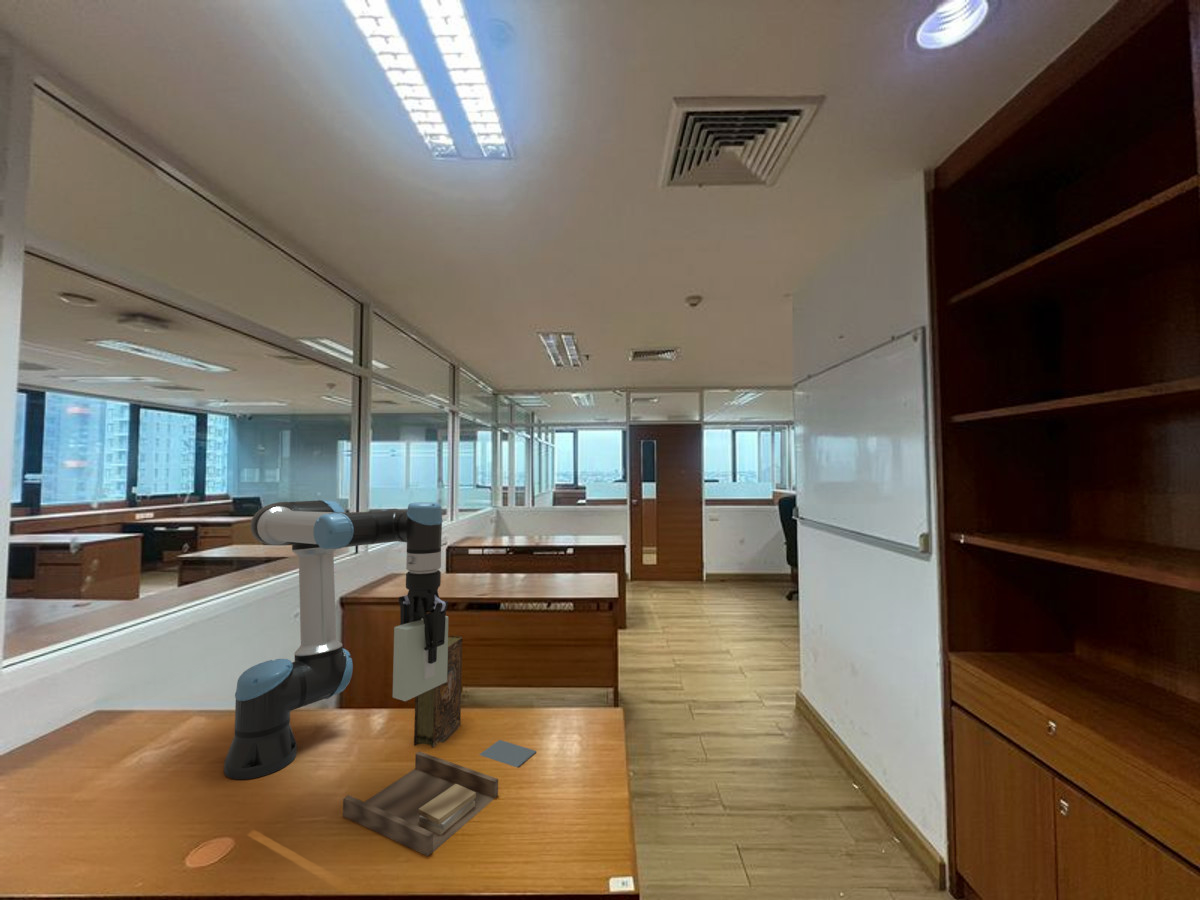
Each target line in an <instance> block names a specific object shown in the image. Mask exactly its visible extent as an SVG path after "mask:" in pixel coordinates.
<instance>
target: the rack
mask: <svg viewBox="0 0 1200 900" xmlns="http://www.w3.org/2000/svg"><path fill="white" fill-rule="evenodd" d="M414 759H415V762H414V764H415V765H414V766H415V767H414V769H412V770H411V771H409V772H408V773H406V774H405V775H402V777H400V778H399V779H397V780H396V781H394V782H393V783H390V785H388V786H387V787H385V788H383V789H382V790H380V791H379V792H377V793H376V794H374V795H372V796H371V797H369V798H368V799H366V800H365V801H363V800H361V799H358V798H356V797H354V796H351V795H350V794H348V795H346V796H345V797H343V801H342V806H343V807H342V817H343V818H346V819H348V820H351V821H352V822H354V823H356V824H359V825H361V826H363V827H365V828H367V829H369V830H371V831H373V832H375V833H378V834H380V835H382V836H385V837H386V838H388V839H390V840H392V841H395V842H396V843H398V844H400V845H403V846H404V847H407V848H409V849H411V850H414V851H416V852H418V853H420V854H422V855H424V856H426V857H429V856H430V855H432V853H434V852H435V851H436V850H438V848H440V847H441V846H442V845H443V844H445V842H447V840H449V839H450V838H451V837H452V836H453V835H454V834H456V833H457V832H458V831H459V830H460V829H461V828H463V827H464V826H465V825H466V824H467V823H469V821H470V820H472V819H473V818H474V817H476V815H478V814H479V813H480V812H481V811H482V810H483V809H484V808H486V807H487V805H489V804H490V803H492V802H493V800H495V799H496V798H497V797H498V796H499V778H497V777H494V776H491V775H487V774H485V773H482V772H478V770H477V771H476V770H475V769H474V770H473V769H471V768H469V767H465V766H462V765H459V764H456V763H454V762H451V761H448V760H445V759H442V758H439V757H438V756H437V757H436V756H434V755H431V754H429V753H425V752H422V751H418V752H416V753H415V758H414ZM455 784H458V785H460V786H462V787H465V788H467V789H469V790H471V791H473V792H476V798H474V801H475V807H473V808H472V809H471V810H470V811H469V812H467V813H466V814H465V815H464V816H463V817H462V818H460V819H459V820H458V821H457V822H456V823H454V824H453V825H452V826H451V827H450V828H449V829H447V830H446V831H445V832H444V833H443V834H441V835H439V834H437V833H434V832H432V831H430V830H428V829H425V828H423V827H421V826H419V825H418V822H419V816H421V815H419V814H418V809H419V808H420V807H422V806H423V805H425V804H426V803H428V802H429V801H431V800H432V799H434V798H435V797H437V796H438V795H440V794H441V793H443V792H444V791H446V790H447V789H449V788H450V787H452V786H453V785H455Z"/></svg>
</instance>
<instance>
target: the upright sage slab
mask: <svg viewBox="0 0 1200 900" xmlns="http://www.w3.org/2000/svg"><path fill="white" fill-rule="evenodd" d="M393 630H394V631H393V668H392V669H393V670H392V698H393V699H396V700H400V701H403V702H407V701H409V700H411V699H413V698H414V699H415V697H416V696H418V695H420V694H422V693H424V692H426V691H429V690H431V689H433V688H435V687H437V686H439V685H441V684H443V683H446V682H447V664H448V636H449V616H447V615H446V620H445V642H444V644H443V645H441V646H438V647H437V660H436V662H435V676H432V677H430V678H428V679H426V680H425V679H423V654H424V648H425V647H426V639H425V624H424V622H423V618H422V619H421V620H418V621H414V622H410V623H406V624H403V625H396V626H394V628H393ZM432 642H433V641H432Z"/></svg>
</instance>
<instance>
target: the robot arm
mask: <svg viewBox="0 0 1200 900" xmlns="http://www.w3.org/2000/svg"><path fill="white" fill-rule="evenodd" d="M442 512H443V511H442V505H441V504H440V503H439V502H428V501H427V502H422V501H421V502H411V503H409V504H408V505H407V509H405V510H404V509H398V508H387V509H382V510H371V511H356V512H355V511H353V512H351V511H350V512H345V510H344V508H343V507H342V506H341V504H339V503H338V502H337V501H335V500H325V499H324V500H323V499H320V500H319V499H318V500H305V501H304V500H299V501H278V502H274V503H270V504H267V505H265V506H263V507H262V508H260V509H258V510H257V512H255V513H254V515H253V516H252V518H251V520H250V525H249V526H250V532H251V534H252V536H253V538H254V539H255V540H256V541H257V542H260V543H262V544H265V545H269V546H288V545H289V546H290V545H291V551H292V552H293V553H294V554H295V555H297V557H298V577H299V578H298V581H299V582H298V583H299V585H298V586H299V622H300V624H299V627H300V645H299V647H298V648H297V649H296V651H294V661H293V662H292V661H291V660H290V659H288V658H276V659H274V660H272V659H269V660H266V661H262V662H260V663H257V664H255V665H253V666H250V667H249V668H248V669H246V670H244V671H243V672H242V673H241V675H239V677H238V679H237V681H236V688H235V689H236V691H235V694H234V699H235V706H234V707H235V712H234V733H233V735H234V736H233V739H232V741H231V744H230V746H229V749H228V752H227V753H226V757H225V760H224V766H223V773H224V775H225V776H226V777H227V778H230V779H231V780H232V779H234V780H248V779H256V778H259V777H263V776H266V775H270V774H272V773H275V772H278V771H279V770H281V769H283V768H285V767H287V766H288V765H289V764H291V763H292V762H293V761H294V760H295V758H296V756H297V754H298V751H297V749H298V744H297V740H296V738H295V734H294V733H293V730H292V727H291V712H292V711H294V710H297V709H301V708H302V707H305V706H309V705H311V704H314V703H318V702H319V701H323V700H327V699H328V700H329V699H330V698H332V697H333V696H336V695H338V694H340V693H342V692H344V690H346V688H347V686H349V684H350V681H351V679H352V676H353V669H354V666H353V665H354V664H353V658H352V657H351V653H350V652H349V650H347V648H343V643H342V642H340V641H339V640H338V639H337V628H336V627H337V622H336V621H337V620H336V596H335V595H336V591H335V586H336V585H335V563H334V560H335V558H334V557H335V555H334V553H335V551H336V550H339V549H343V548H349V547H357V546H368V545H376V544H386V543H387V544H388V543H395V542H396V543H397V542H398V543H406V566H405V567H406V570H407V572H406V574H405V588H406V589H407V590H408V592H407V594H406V595H405V594H404V595H402V596H399V597H398V602H399V606H400V609H399V611H400V618H399V619H400V623H399V624H400V625H403V624H406V623H410V622H414V621H418V620H421V619H423V622H424V624H425V639H426V647H425V648H424V654H423V679H425V680H426V679H428V678H430V677H432V676H435V662H436V660H437V647H438V646H441V645H443V644H444V642H445V620H446V616H447V614H446V613H447V609H448V606H449V601H447V600H442V599H440V596H439V591H438V590H439V588H440V587H441V582H442V581H441V580H442V579H441V578H442V577H441V576H442V571H440V569H441V568H442V535H443V534H442V533H443V532H442V529H443V527H442V525H443V515H442V514H443V513H442ZM400 625H399V626H400ZM432 641H433V642H432Z"/></svg>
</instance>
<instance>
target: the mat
mask: <svg viewBox="0 0 1200 900" xmlns="http://www.w3.org/2000/svg"><path fill="white" fill-rule="evenodd" d="M536 754H537V750H534V749H531V748H528V747H525V746H521V745H518V744H514V743H512V742H508V741H505V740H501V739H499V740H497V741H496V742H494V743H493V744H492V745H490V746H489V747H488V748H486V749H485V750H484V751H482V752H480V753H479V756H481V757H484V758H487V759H490V760H494V761H496V762H499V763H502V764H505V765H509V766H511V767H515V768H517V769H519V768H520V767H521V766H522V765H524V764H525V763H526V762H527V761H528V760H529V759H531V758H532V757H533V756H534V755H536Z"/></svg>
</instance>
